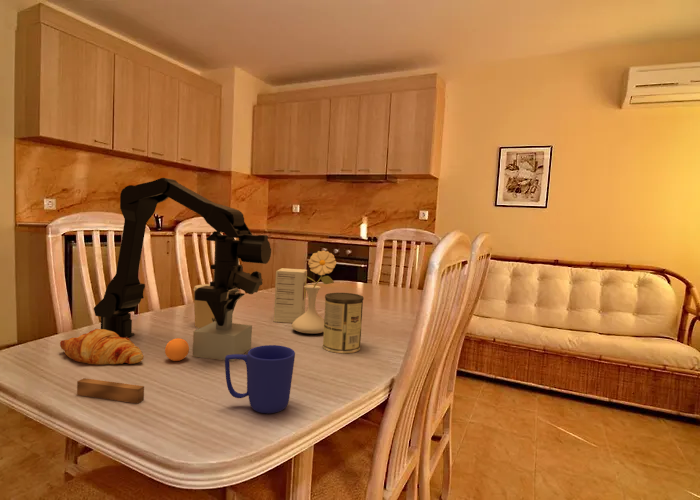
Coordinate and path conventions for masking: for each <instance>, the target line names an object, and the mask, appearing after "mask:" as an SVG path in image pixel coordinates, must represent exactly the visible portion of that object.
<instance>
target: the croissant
mask: <svg viewBox="0 0 700 500" xmlns="http://www.w3.org/2000/svg"><path fill="white" fill-rule="evenodd" d="M59 345H60V349H61V350H63V351H64V353H65V355H66V356H67V357H68V358H69V359H71V360H73V361H75V362H78V363H84V364H88V365H98V366H99V365H101V366H102V365H119V364H120V365H122V364H124V363H125V364H129V365H132V364H138V363H140V362H142V361H143V360H144V358H145V356H144V353H143V351H142V350H141V349H140V347H139V346H136V344H135V343H134V342H133V341H132V340H131V339H130V337H127V338H122V337H120V336H119V335H118V334H116V333H115V332H113V331H108V330H105V329H101V328H100V329H99V328H95V329H93V330H90V331H89V332H87V333H82V335H81V334H80V335H79V336H78V337H71V338H68V339H63V340H60V343H59Z"/></svg>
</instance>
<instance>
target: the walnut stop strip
mask: <svg viewBox="0 0 700 500" xmlns="http://www.w3.org/2000/svg"><path fill="white" fill-rule="evenodd" d="M76 395H77V396H82V397H90V398H94V399H95V398H96V399H104V400H110V401H115V402H116V401H118V402H125V403H132V404H140V403H141V402H143V401H144V400H145V386H144V385H137V384H129V383H123V382H117V381H116V382H114V381H107V380H100V379H93V378H92V379H91V378H86V377H85V378H81V379H80V380H77V383H76Z"/></svg>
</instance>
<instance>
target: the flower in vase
mask: <svg viewBox="0 0 700 500" xmlns="http://www.w3.org/2000/svg"><path fill="white" fill-rule="evenodd" d="M307 264H308V267H309V268H310V269H309V270H310V272H312V273H314V274H316V275H318V276H320V277H319V279H318V280H317V281H315V280H314V279H313V278H311V277H310V276H308V275H307V276H306V277H307V279H309V280H310V281H312V282H314V283H315V284H314V285H313V284H310V285H309V284H306V286H304V287H305V289H306V295H307V307H306V308H307V309H305V313H304V314H302V315H301V316H300V317H298V318H297V319H296V320H295V321H294V322H293V323H291V328H292V329H293V330H294V331H296V332H299V333H302V334H308V335H309V334H311V335H312V334H321V333H324V318H323V317H322V316H321V315H320V314H319V313H318V312H317V310H316V301H317V295H318V292H319V291H320V290H321V288H322V287H321V286H320V285H317V284H319V282H320V280H321V282H322V283H323V284H324V285H330V284H334V283H335V282H334V280H333V279H332V278H331V276H329V275H326V274H331V273H332V272H333V271H334V269H335V268H336V266H337V261H336V258H335V255H334V254H333V253H332V252H329V251H327V250H321V251H320V250H317V252H314V253H312V255H311V256H310V258H309V259H308V263H307Z"/></svg>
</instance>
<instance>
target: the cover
mask: <svg viewBox="0 0 700 500" xmlns="http://www.w3.org/2000/svg"><path fill="white" fill-rule="evenodd" d="M233 313H234V311H233V309H226V314H225V320H224V324H223V326H219V325H218V323H217V321H216V322H215V321H214V322H212V323H210V324H208V325H206V326H204V327H202V328H200V329H199V328H197V329H195V330H194V331H193V333H192V335H193V336H192V337H193V338H192V339H193V340H192V357H195V358H202V359H208V360H209V359H211V360H220V361H225V357H226V356H227V355H232V354H243V355H245V354H246V353H248V351H249V350H251V349H252V338H253V337H252V333H253V332H252V331H253V325H251V324H243V323H242V324H241V323H233ZM236 360H237V359H230V360H229V362H235V361H236Z"/></svg>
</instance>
